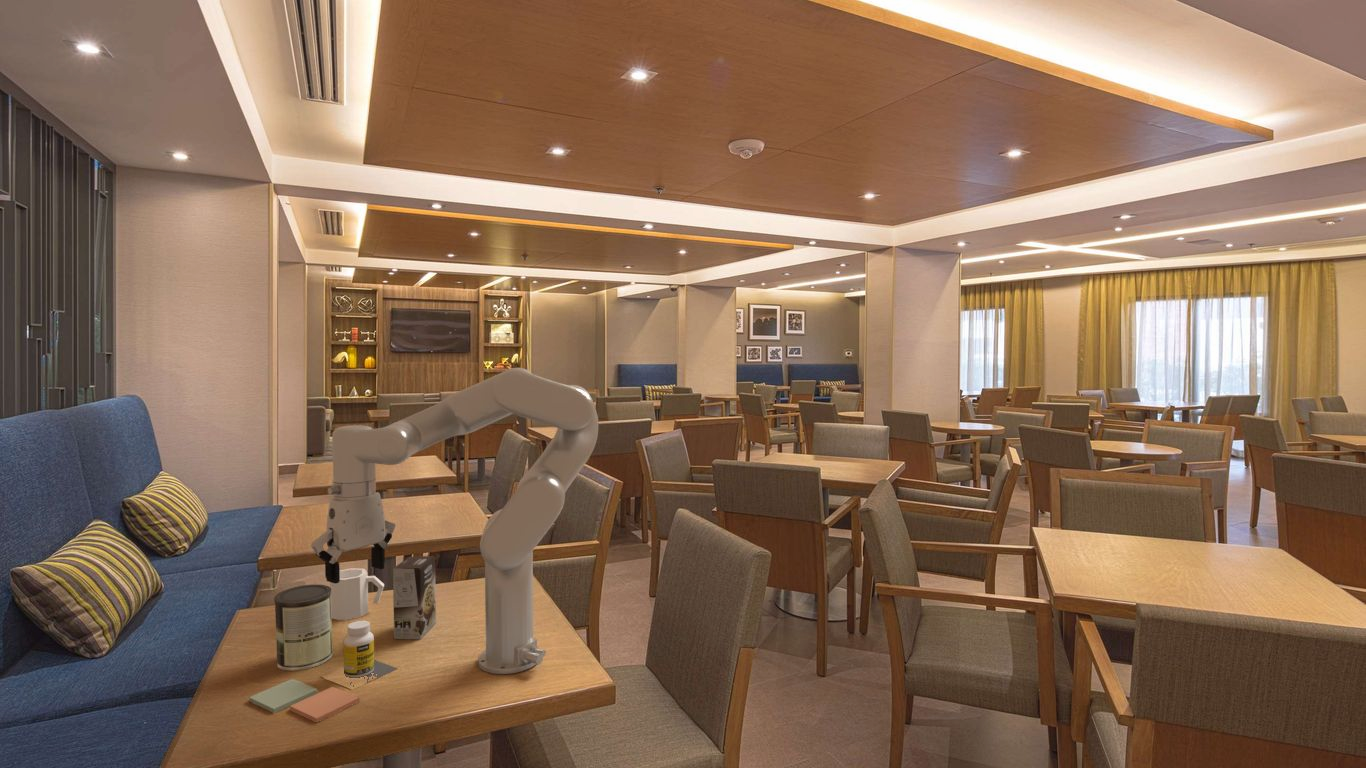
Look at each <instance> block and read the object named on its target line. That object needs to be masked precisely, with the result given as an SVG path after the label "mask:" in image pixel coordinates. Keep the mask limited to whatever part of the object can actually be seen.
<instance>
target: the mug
mask: <svg viewBox="0 0 1366 768" xmlns="http://www.w3.org/2000/svg"><path fill="white" fill-rule="evenodd" d="M339 572H340V581H339V583H336V584H335V583H332V582H329V587H330V588H331V619H332V618H333V619H337V620H336V621H344V620H345V621H348V620H347V619H350V620H353V619H352V618H355V619H357V617H359V618H362V617H363V616H364V615H366V614H368V613H369V594H368V593H369V591H368V589H369V586H368V583H373V584H374V586H376V587H377V592H376V594H375V597H374V600H373V602H372V603H373V604H375V605H378V604H379V602H380V599H381V597H382V593H383V591H384V588H385V583H384V582H382V581H381V580H380V579H379V578H378V577H376V575H368V571H367V570H366V569H365V568H357V567H356V568H354V567H351V568H345V569H341V570H339ZM361 616H362V617H361ZM333 619H332V620H333Z"/></svg>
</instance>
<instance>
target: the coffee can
mask: <svg viewBox="0 0 1366 768" xmlns="http://www.w3.org/2000/svg"><path fill="white" fill-rule="evenodd" d="M273 600H274V601H273V602H274V605H275V606H274V609H275V610H274V611H275V636H276V639H275V641H276V666H277V668H278V669H280V670H283V671H290V672H292V671H293V672H294V671H295V672H296V671H303V670H308V669H312V667H313V668H316V667H318V666H320V664H321V665H322V664H324V662H325V663H326V662H328V661H329V660H330V659H332V657H333V655H334V652H333V634H332V633H333V631H332V629H333V628H332V623H333V622H332V617H331V588H330V585H326V584H325V585H324V584H304V585H299V586H295V587H294V586H293V587H290V588H287V589H285V590H282V591H281V592H278V593H277V594H276V595H275V596H274V599H273ZM327 660H328V661H327ZM315 666H316V667H315Z"/></svg>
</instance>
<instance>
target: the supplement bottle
mask: <svg viewBox="0 0 1366 768" xmlns="http://www.w3.org/2000/svg"><path fill="white" fill-rule="evenodd" d="M370 630H371V624H370V621H367V620H358V621H353V622H351V623H349V624H348V625H347V634H348V635H346V636H345V637H344V639H343V667H344V674H345V676H346V677H349V678H360V677H364V676H366V675H369V674H370V673H371V672H372V671H373V670H374V660H375V643H374V642H375V639H374V637H375V635H374V634H373V633H372V632H371V631H370Z"/></svg>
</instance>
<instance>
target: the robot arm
mask: <svg viewBox="0 0 1366 768" xmlns="http://www.w3.org/2000/svg"><path fill="white" fill-rule="evenodd" d="M511 415H516V416H518V417H521V418H523V419H527V420H531V421H533V422H538V423H541V424H544V425H547V426H550V427H553V428H556V429H557V430H556V431H555V434H554V436H553V438H552V439H551V441H550V442H549V443H548V444H547V446H546V447H545V449H544V451H543V452H542V453H541V454H540V456H539V457H538V458H537V459H536V461H535V462H534V463H533V465H532V466H531V467H530V468H529V469H528V470H527V471H526V473H525V474H524V475H523V476H522V477H521V479H520V480H519V482H518V484H517V488H516V490H515V491H514V493H513V494H512V495H511V497H510V498H509V499H508V501H507V502H506V504H505V505H504V506H503V507H502V508H501V509H499V510H497V511H495V512H494V513H493V514H491V516H490V517H489V518H488V519H487V522H486V523H485V525H484V529H483V531H482V535H481V537H480V543H479V550H480V554H481V557H482V558H483V561H484V600H485V601H484V603H485V604H484V605H485V606H484V607H485V608H484V609H485V611H484V612H485V614H484V615H485V616H484V617H485V650H483V651H482V652H481V653H480V654H479V656H478V658H477V664H478V665H477V666H478V667H479V668H480V669H481V670H482V671H484V672H486V673H490V674H495V675H508V674H516V673H521V672H524V671H526V670H529V669H531V668H533V667H534V666H536V665H541V664H542V663H543V658H544V657H545V656H546V655H547V654H546V653H547V650H546V649H542V648H539V646H538V639H537V638H534V605H533V603H534V599H533V598H534V597H533V596H534V591H533V589H534V588H533V585H534V582H533V581H534V575H533V574H534V571H533V569H534V567H533V566H534V565H533V564H534V562H533V561H534V560H533V559H534V555H533V554H534V553H533V551H534V550H535V549H536V547H537V545H538V544H539V543H540V541H542V539H543V538H544V536H545V535H546V534H547V532H548V531H549V529H550V528H551V527H552V526H553V524H554V523H555V521H556V520H557V519H558V517H559V515H560V514H561V512H562V510H563V508H564V505H565V500H566V492H567V491H568V489H569V488H570V486H571V485H572V483H573V482H574V480H575V479H576V478H577V476H578V475H579V474H580V472H581V470H582V469H583V467H584V466H585V465H586V463H587V462H588V461H589V459H590V457H591V455H592V453H593V451H594V449H595V447H596V443H597V441H598V434H599V417H598V413H597V409H596V406H595V403H594V401H593V397H592V396H591V395H590V393H589V392H588V390H586V389H585V388H584V387H582V386H580V385H577V384H564V383H562V382H557V381H554V380H550V379H548V378H545V377H542V376H539V375H535V374H533V373H532V372H531V371H529V370H528V369H526V368H524V367H523V368H522V367H512V368H509V369H507V370H504V371H503V372H500V373H498V374H496V375H492V376H491V377H489V378H487V379H484V380H482V381H480V382H478V383H475V384H473V385H471V386H469V387H467V388H464V389H462V390H459V391H456V392H455V393H453V394H451V395H448V396H447V397H445V398H444V399H443V400H441V401H439V402H438V403H436V404H434V405H432V406H430V407H428V408H425V409H422V410H421V411H419V412H417V413H414V414H412V415H409V416H407V417H405V418H403V419H400V420H398V421H396V422H393V423H391V424H389V425H386V426H383V427H379V428H373V427H371V426H369V425H359V424H358V425H357V424H355V425H344V426H343V425H342V426H339V427H337V428H335V429H333V432H332V436H331V437H332V439H331V441H332V444H331V445H332V446H331V447H332V486H331V487H328V488H327V494H328V495H332V496H333V497H331V498H330V501H329V504H328V510H327V517H326V531H325V532H324V533H322V534H321V535H320V536H318V537H317V538H316V539H315V540H314V541H312V542H311V544H310V547H311V548H312V550H313V551H314V553H315V556H317V557H318V558H319V559H321V561H322V562H324V569H325V570H324V572H325V579H326V581H327V582H329V583H330V582H332V583H335V584H336V583H339V581H340V572H339V571H340V562H337V561H338V559H339V558H340V556H341V554H342V553H343V552H345V553H347V552H352V551H355V550H359V549H363V548H366V547H368V546H372V547H371V550H370V551H371V552H370V553H371V554H370V555H371V557H370V559H371V567H372V568H374V569H378V570H383V569H385V561H386V558H385V557H386V555H385V554H386V553H385V551H386V549H387V547H388V543H390V541H391V539H392V538H393V533H394V532H395V528H396V523H393V522H391V521H389V520H386V519H385V511H384V510H385V509H384V507H383V506H384V505H383V501H382V498H381V494H380V492H378V491H377V480H376V475H377V474H376V473H377V472H376V464H377V465H385V466H395V465H399V464H401V463H404V462H405V461H406V460H408V459H409V458H410V457H411V456H413V455H414V454H417V453H418V452H421V451H423V450H425V449H428V448H429V447H432V446H434V445H435V444H437V443H439V442H442V441H445V440H447V439H450V438H453V437H457V436H463V435H464V436H465V435H467V434H471V433H473V432H476V431H478V430H480V429H482V428H486V427H487V426H489V425H491V424H493V423H496V422H497V421H500V420H502V419H504V418H507V417H509V416H511ZM376 491H377V492H376ZM325 544H326V546H327V549H326V550H325V548H324V545H325Z"/></svg>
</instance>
